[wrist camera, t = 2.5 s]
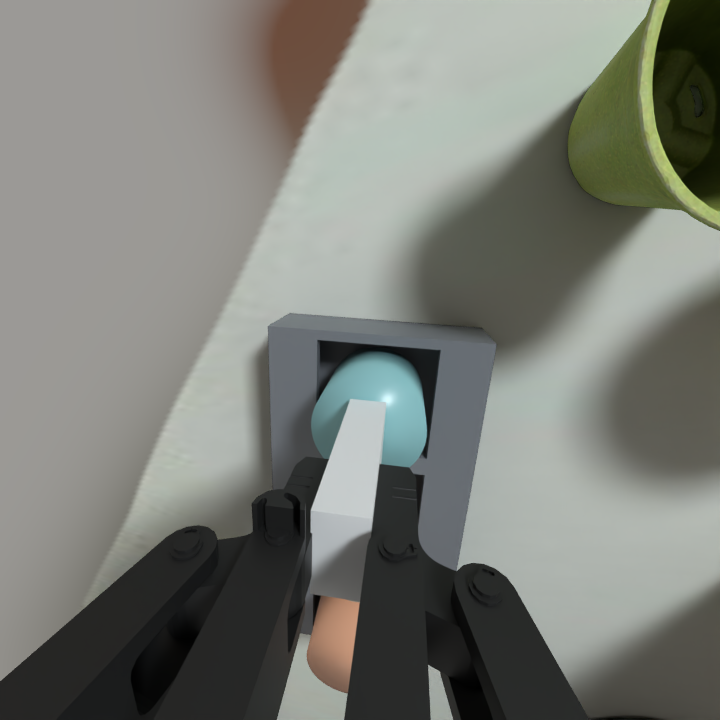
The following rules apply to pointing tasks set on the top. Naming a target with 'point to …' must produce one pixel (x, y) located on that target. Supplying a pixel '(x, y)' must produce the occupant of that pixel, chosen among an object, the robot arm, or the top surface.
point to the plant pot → (656, 116)
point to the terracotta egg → (333, 641)
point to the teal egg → (375, 383)
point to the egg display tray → (441, 401)
